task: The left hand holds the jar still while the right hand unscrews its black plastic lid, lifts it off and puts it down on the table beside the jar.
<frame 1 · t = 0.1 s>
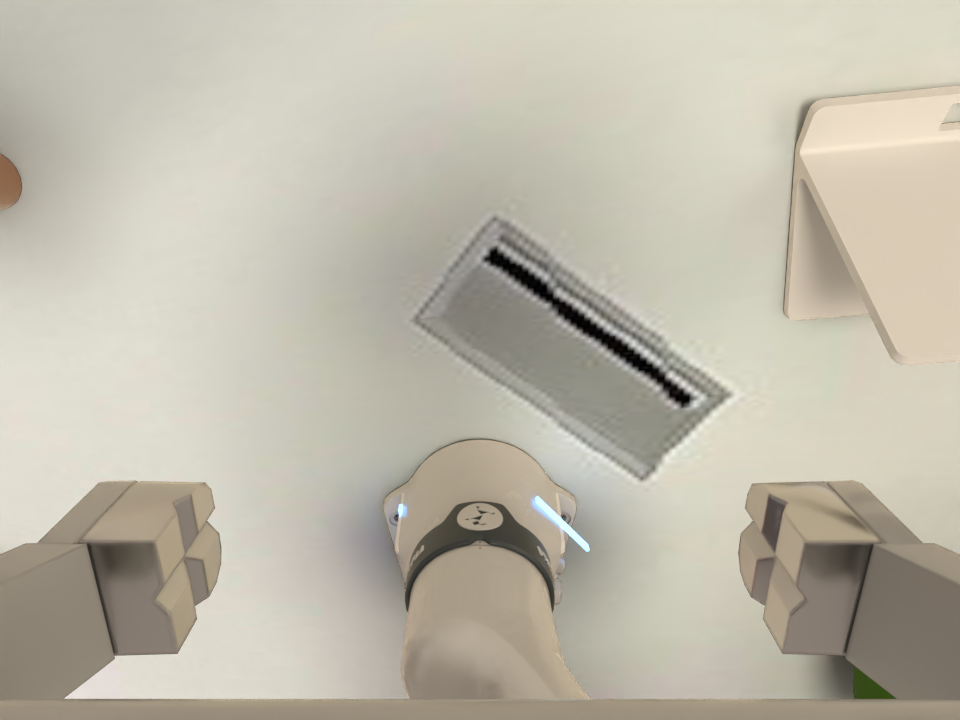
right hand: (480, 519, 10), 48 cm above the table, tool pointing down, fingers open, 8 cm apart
tablet stand: (941, 201, 56), on the table
vase: (896, 639, 72), on the table
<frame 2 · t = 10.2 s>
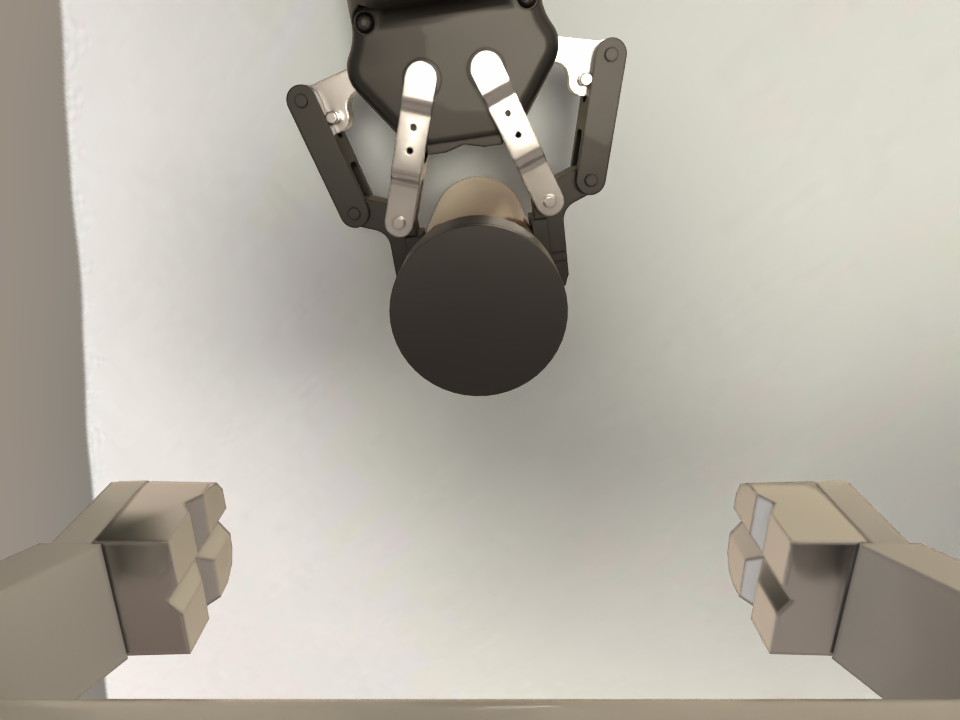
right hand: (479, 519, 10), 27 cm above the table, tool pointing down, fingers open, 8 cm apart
lid: (478, 311, 20), point 16 cm above the table, screwed on, not yet turned
jar: (479, 223, 36), on the table, touching left hand
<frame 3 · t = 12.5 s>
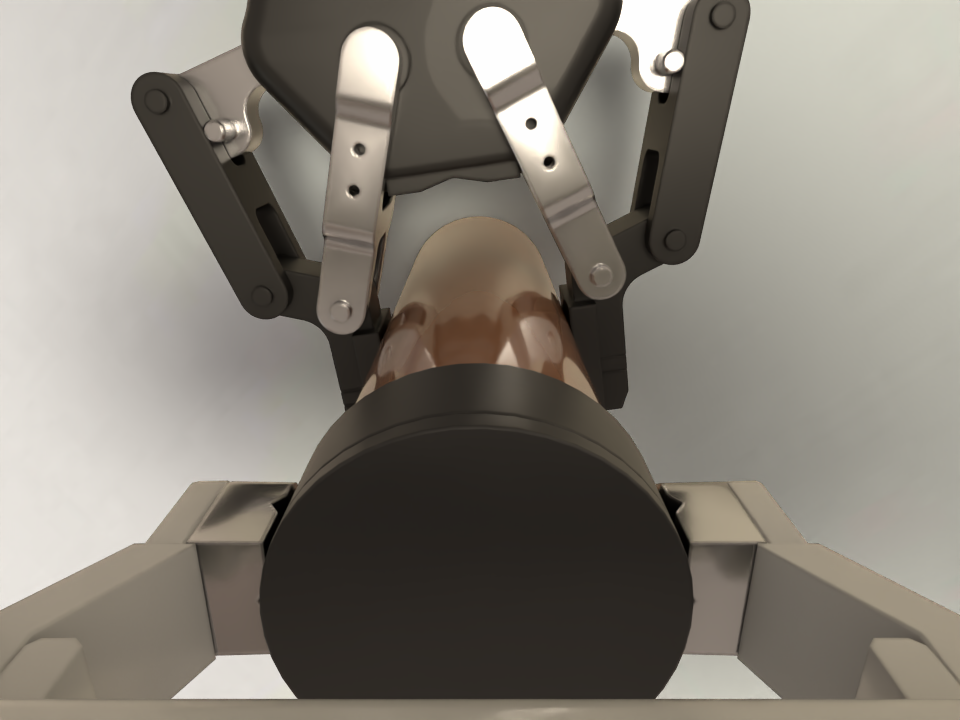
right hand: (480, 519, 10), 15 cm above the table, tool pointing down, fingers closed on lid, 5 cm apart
lid: (476, 601, 9), point 16 cm above the table, screwed on, not yet turned, touching right hand
jar: (479, 284, 24), on the table, touching left hand
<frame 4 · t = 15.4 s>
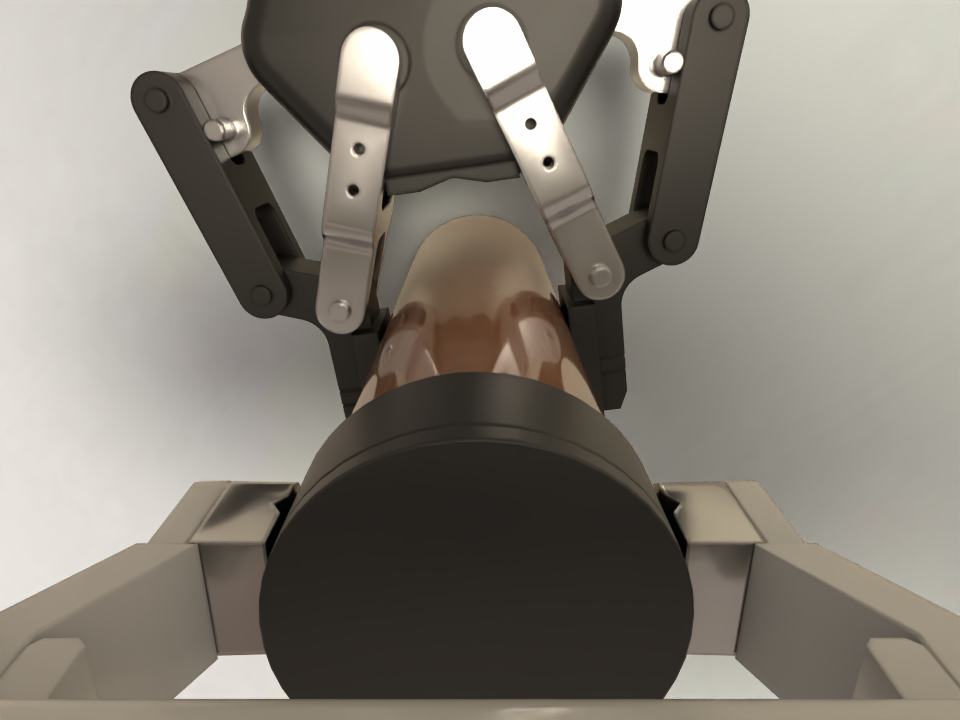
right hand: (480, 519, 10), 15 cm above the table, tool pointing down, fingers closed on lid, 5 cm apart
lid: (476, 611, 9), point 16 cm above the table, turned 60° so far, risen 0.1 cm, still on its thread, touching right hand
jar: (477, 282, 24), on the table, touching left hand
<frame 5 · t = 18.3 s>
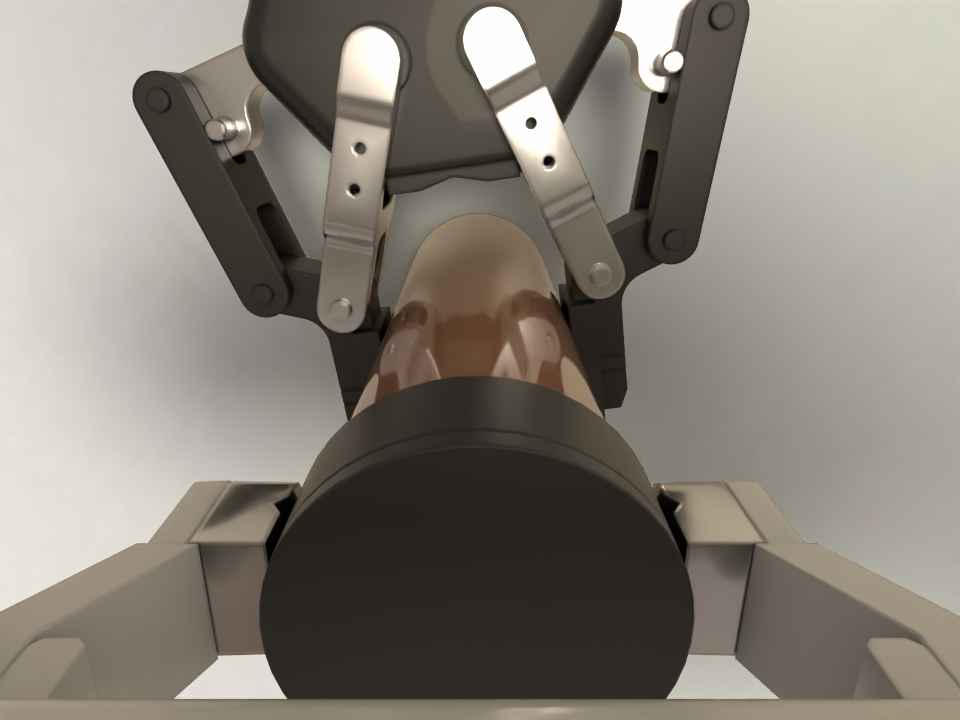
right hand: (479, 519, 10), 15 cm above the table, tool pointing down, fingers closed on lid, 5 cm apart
lid: (476, 615, 9), point 16 cm above the table, turned 120° so far, risen 0.1 cm, still on its thread, touching right hand
jar: (478, 281, 24), on the table, touching left hand
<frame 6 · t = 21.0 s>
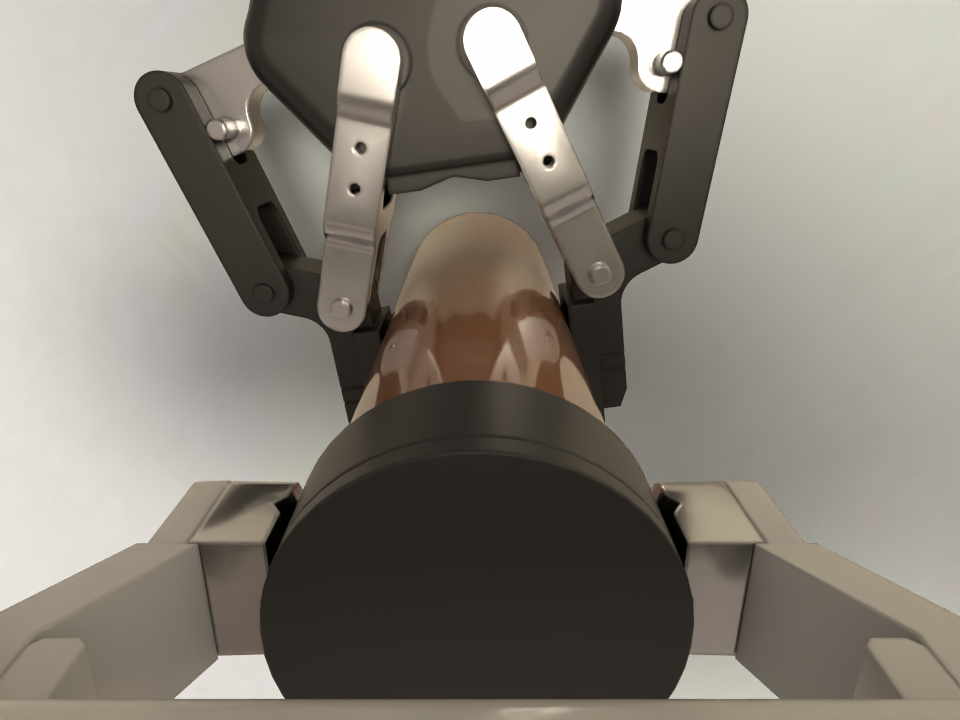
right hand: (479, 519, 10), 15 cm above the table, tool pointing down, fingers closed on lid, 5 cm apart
lid: (477, 620, 9), point 17 cm above the table, turned 180° so far, risen 0.2 cm, still on its thread, touching right hand
jar: (478, 280, 24), on the table, touching left hand
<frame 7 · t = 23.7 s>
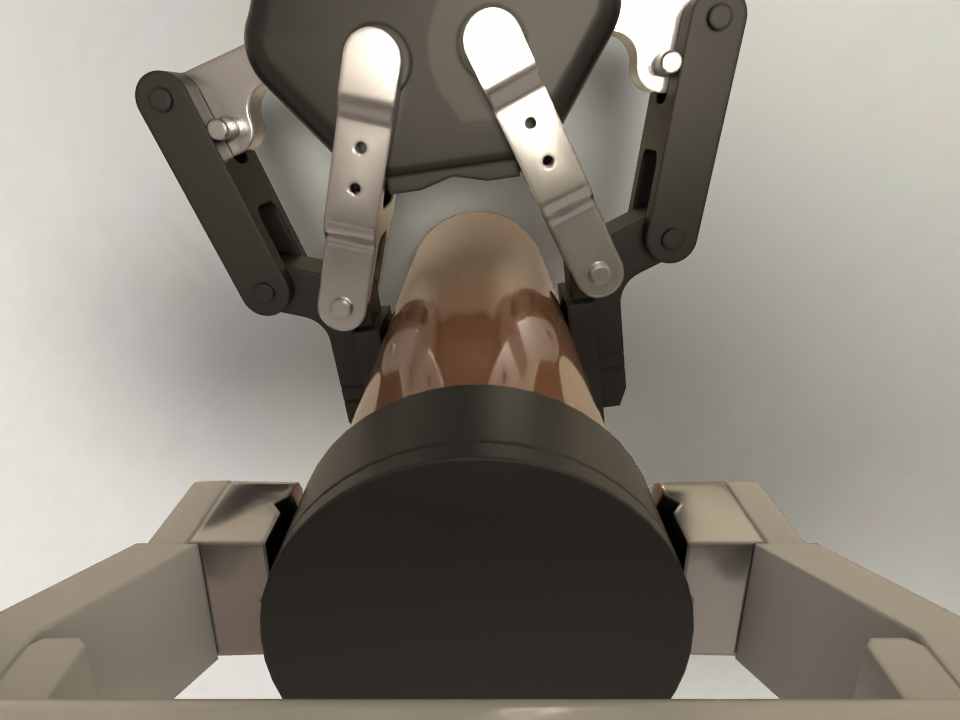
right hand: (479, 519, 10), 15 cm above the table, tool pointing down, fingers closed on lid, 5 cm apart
lid: (477, 624, 9), point 17 cm above the table, turned 240° so far, risen 0.3 cm, still on its thread, touching right hand
jar: (478, 278, 24), on the table, touching left hand
when the right hand's fingers open (2 cm above the table, at t = 33.2 s): lid drops 2 cm, point 2 cm above the table.
when the left hand's fingers open (6 cm above the table, at t = 34.2 s): jar stays where it is, on the table.
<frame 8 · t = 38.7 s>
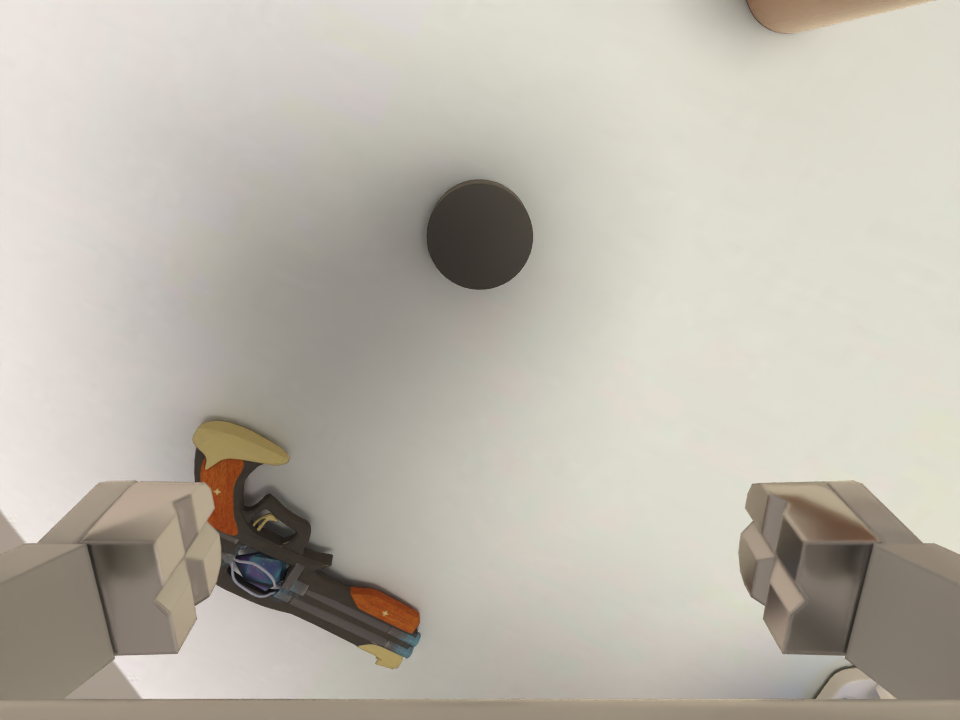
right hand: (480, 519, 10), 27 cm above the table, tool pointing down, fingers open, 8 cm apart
lid: (479, 236, 34), point 2 cm above the table, off its thread
toy gun: (314, 539, 43), on the table
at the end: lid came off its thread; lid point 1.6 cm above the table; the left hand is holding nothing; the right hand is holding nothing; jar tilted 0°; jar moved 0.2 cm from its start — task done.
